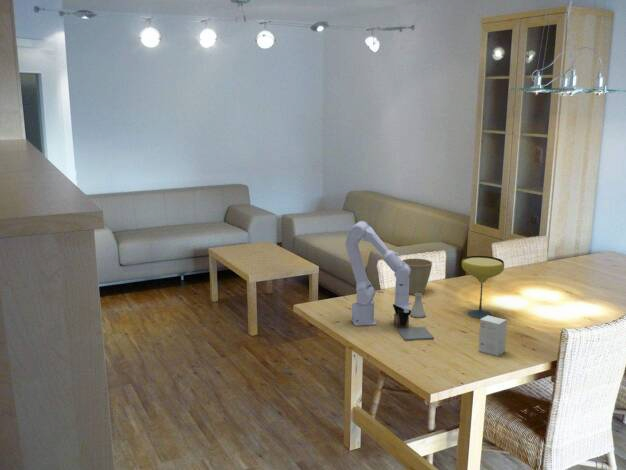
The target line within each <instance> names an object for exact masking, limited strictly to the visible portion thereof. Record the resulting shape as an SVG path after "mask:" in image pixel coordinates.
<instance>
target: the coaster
mask: <svg viewBox="0 0 626 470" xmlns="http://www.w3.org/2000/svg"><path fill="white" fill-rule="evenodd" d="M396 331H397V333H398V334H399V335H400V336H401V338H402V339H403V341H404V342H409V341H410V342H411V341H426V340H434V339H435V338H434V336H433V335H432V333H430V331H429V330H428V329H427V328H426V326H415V327H409V328H396Z"/></svg>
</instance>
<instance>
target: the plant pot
mask: <svg viewBox="0 0 626 470" xmlns="http://www.w3.org/2000/svg"><path fill="white" fill-rule="evenodd" d="M401 260H402V261H403V262H405V263H406V264H408V265H409V267H410V269H411V272H410V274H409V295H413V296H415V294H416V293H420V294H422V295H423V294H424V292H425V290H426V287H427V286H428V282H429V279H430V275H431V271H432V267H433V262H432V261H431V260H429V259H426V258H425V259H424V258H405V259H401Z"/></svg>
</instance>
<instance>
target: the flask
mask: <svg viewBox="0 0 626 470" xmlns="http://www.w3.org/2000/svg"><path fill="white" fill-rule="evenodd" d="M414 296H415V299H414V301H413V303H412V307H411V309H410V310H411V313H410V315H409V316H410V317H413V318H415V319H416V318H417V319H419V318H421V319H422V318H425V317H426V316H427V315H426V312H425V309H424V306H423V301H422V297H423V294H420V293H416V294H415V295H414Z"/></svg>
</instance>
